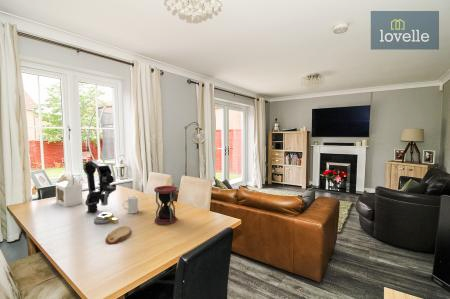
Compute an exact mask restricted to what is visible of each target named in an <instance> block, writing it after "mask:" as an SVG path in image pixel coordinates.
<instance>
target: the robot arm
mask: <svg viewBox="0 0 450 299" xmlns="http://www.w3.org/2000/svg"><path fill="white" fill-rule="evenodd" d="M82 169H83V171H84V174H85V175H86V177H87V178H86V180H87V186H88V194H87V196H86V200H85V202H84V204H85V206H87V211H85V212H86V213H89V214H93V213H96V212H99V209H98V204H99V203H100V202H102V203H103V202H104V195H105V194H104V193H103V192H108V194H107V198H108V199H109V196H110V195H111V193H113V192H115V191H117V184H112V183H113V182H114V180H115V177H114V176H113V175H112V170H111V168H110V166H109V165H108V164H106V163H105V164H103V163H101V162H100V161H98V160H97V159H89V160H88V161H87V162H86V163H84V164H83V166H82ZM95 172H97V173H98V177H99V178H98V179H99V181H98V182H99V183H98V184H97V185H98V186H99V188H98V190H97V189H96V182H95Z"/></svg>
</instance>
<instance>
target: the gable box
mask: <svg viewBox="0 0 450 299" xmlns="http://www.w3.org/2000/svg"><path fill="white" fill-rule="evenodd" d="M74 176H75V174H73V173H70V172H68V171H67V172H66V171H64V174H62V175H61V176H60V178H59V179H58V180H57V181H56V183H55V202H56V204H59V205H61V206H63V207H65V208H68V207H72V206H77V205H79V204H80V205H81V204H83V185H82V183H81V182H79V180H78V179H77V177H74ZM67 206H68V207H67Z"/></svg>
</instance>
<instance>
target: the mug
mask: <svg viewBox="0 0 450 299" xmlns="http://www.w3.org/2000/svg"><path fill="white" fill-rule="evenodd" d="M138 199H139V197H138V196H137V195H136V196H135V195H133V196H132V195H131V196H127V198H126V200H125V201H124V202H123V203H122V206H123V209H124V210H126V211H127V212H126V213H127V214H136V213H138V212H139V200H138ZM125 203H126V205H127V208H126V207H125Z"/></svg>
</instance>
